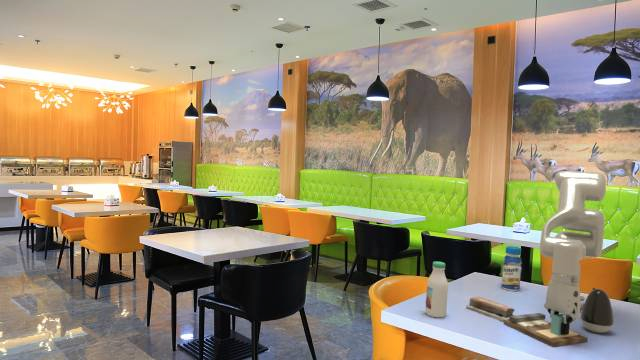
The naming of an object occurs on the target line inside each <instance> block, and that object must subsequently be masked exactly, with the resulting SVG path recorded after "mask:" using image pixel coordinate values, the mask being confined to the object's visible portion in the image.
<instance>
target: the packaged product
mask: <svg viewBox="0 0 640 360" xmlns="http://www.w3.org/2000/svg"><path fill="white" fill-rule="evenodd" d="M465 308H466V309H467V310H470V311H473V312H476V313H478V314H481V315H483V316H486V317H489V318H491V319H494V320H497V321H500V322H502V323H504V320H509V318H510V316H516V315H517V314H514V312H515V309H514V308H512V307H510V306H508V305H505V304H502V303H499V302H496V301H494V300H491V299H488V298H485V297H482V296H476V297H470V298H469V303H468V305H466V307H465Z"/></svg>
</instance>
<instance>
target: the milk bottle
mask: <svg viewBox="0 0 640 360" xmlns="http://www.w3.org/2000/svg"><path fill="white" fill-rule="evenodd" d="M445 270H446V262H442V261H433V262H432V272H431V274H430V276H429V278H428V279H427V286H426V296H425V308H424V309H425V310H424V312H425V314H426V315H427V316H429V317H432V318H438V319H439V318H440V319H441V318H442V319H443V318H445V317H446V316H447V307H448V294H449V293H448V291H449V283H448V280H447V277H446V274H445Z"/></svg>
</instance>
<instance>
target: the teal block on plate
mask: <svg viewBox="0 0 640 360" xmlns="http://www.w3.org/2000/svg"><path fill="white" fill-rule="evenodd" d="M567 318H568V316H567ZM550 319H551V321H550V322H551V329H546V330H538V331H536V333H538V334H541V335H543V336H545V337H547V338H549V339H554V338H561V337H568V336H576V335H578V334H579V333H578V332H575V331H573V330H570V329H569V334H566V335H562V334H561V323H563V313H559V314H557V315H552V318H550Z"/></svg>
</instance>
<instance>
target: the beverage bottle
mask: <svg viewBox="0 0 640 360" xmlns="http://www.w3.org/2000/svg"><path fill="white" fill-rule="evenodd" d="M505 254H506V255H505V256H504V257H503V260H502V261H503V263H502V266H501V267H502V273H501V284H500V285H501V286H500V287H501V288H502V289H503V290H505V291H511V292H519V291H520V289H521V276H522V274H521V273H522V268H523V267H522V264H523V262H522V258H521V254H522V248H521V247H520V246H515V245H507V246H506V247H505Z"/></svg>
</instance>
